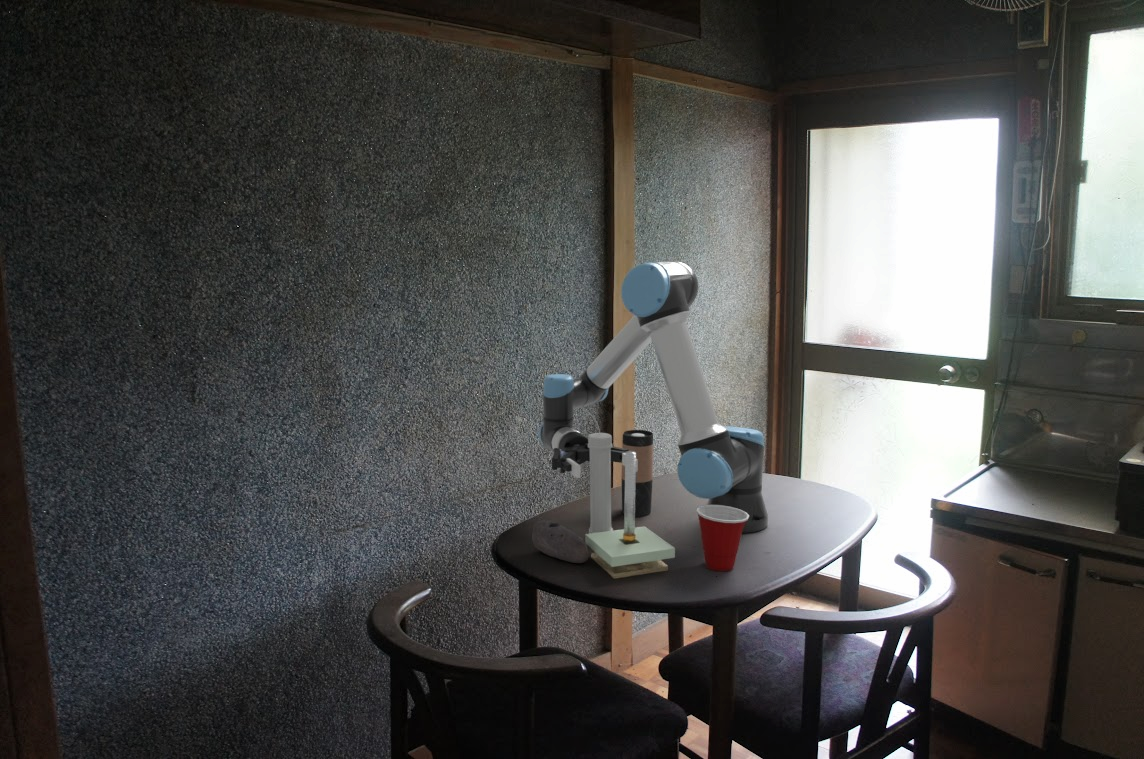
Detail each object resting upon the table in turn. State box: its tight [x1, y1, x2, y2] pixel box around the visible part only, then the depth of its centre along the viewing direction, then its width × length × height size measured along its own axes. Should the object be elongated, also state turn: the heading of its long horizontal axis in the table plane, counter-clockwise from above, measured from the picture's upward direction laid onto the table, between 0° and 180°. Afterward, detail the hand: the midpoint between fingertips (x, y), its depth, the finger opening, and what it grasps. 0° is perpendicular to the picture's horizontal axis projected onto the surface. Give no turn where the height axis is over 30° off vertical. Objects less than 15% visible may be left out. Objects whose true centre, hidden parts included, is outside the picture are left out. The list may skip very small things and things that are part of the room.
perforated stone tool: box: [531, 519, 590, 564], centre depth 181 cm, size 15×5×7 cm, turn 44°
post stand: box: [590, 451, 669, 579], centre depth 177 cm, size 12×12×24 cm
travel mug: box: [621, 429, 654, 517], centre depth 210 cm, size 8×8×20 cm
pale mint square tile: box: [584, 526, 676, 567], centre depth 178 cm, size 14×14×2 cm
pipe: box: [583, 409, 614, 534], centre depth 189 cm, size 6×6×30 cm
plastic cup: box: [695, 504, 749, 572], centre depth 177 cm, size 11×11×12 cm
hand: (608, 468), depth 186 cm, fingers open, 13 cm apart
